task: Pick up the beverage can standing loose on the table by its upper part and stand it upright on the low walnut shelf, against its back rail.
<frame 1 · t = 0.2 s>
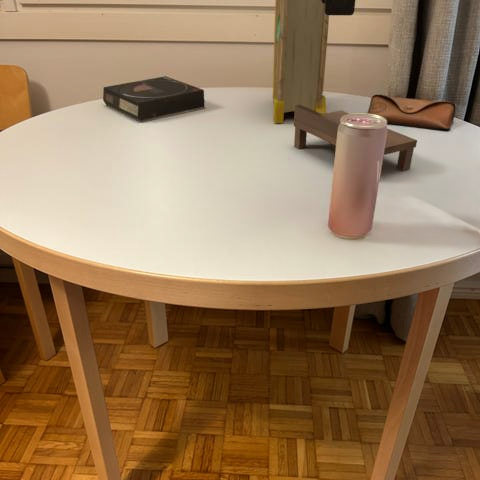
hand: (336, 8, 62), 26 cm above the table, tool pointing down, fingers open, 9 cm apart
decorative book: (296, 112, 118), on the table
sunglasses case: (407, 122, 112), on the table
shelf: (349, 157, 95), on the table
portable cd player: (153, 108, 122), on the table
beverage can: (348, 231, 73), on the table
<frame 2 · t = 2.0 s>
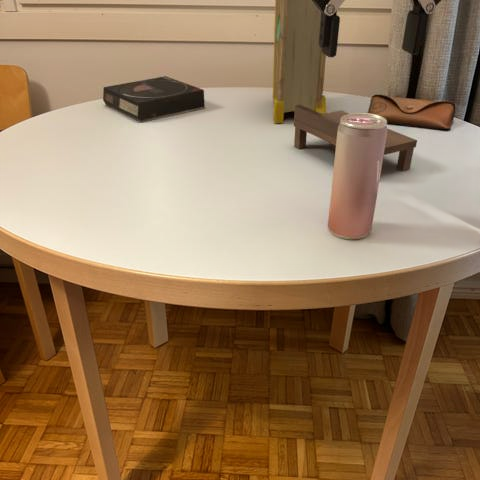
hand: (369, 53, 60), 22 cm above the table, tool pointing down, fingers open, 9 cm apart
nothing on the table moved.
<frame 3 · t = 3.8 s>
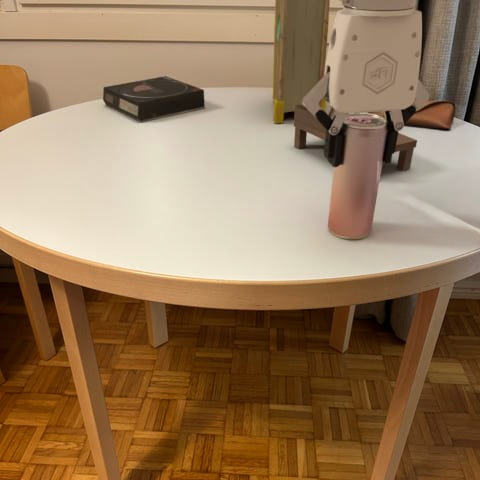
hand: (358, 160, 67), 10 cm above the table, tool pointing down, fingers closed on beverage can, 6 cm apart
beverage can: (348, 231, 73), on the table, touching gripper
everything else where it was.
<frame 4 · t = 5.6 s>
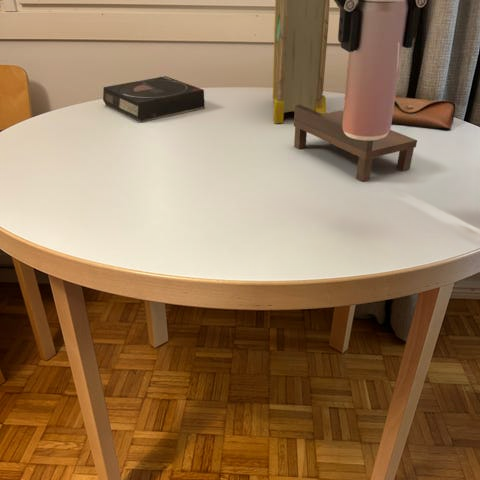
hand: (375, 46, 61), 23 cm above the table, tool pointing down, fingers closed on beverage can, 6 cm apart
beverage can: (365, 135, 67), point 13 cm above the table, touching gripper
everything else where it was.
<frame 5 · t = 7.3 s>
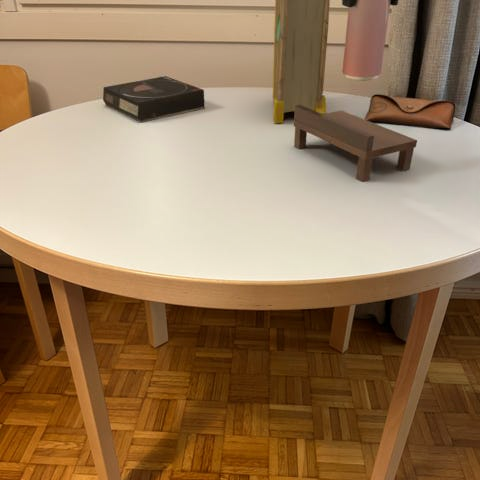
hand: (369, 3, 78), 24 cm above the table, tool pointing down, fingers closed on beverage can, 6 cm apart
beverage can: (360, 78, 84), point 14 cm above the table, touching gripper
everything else where it was.
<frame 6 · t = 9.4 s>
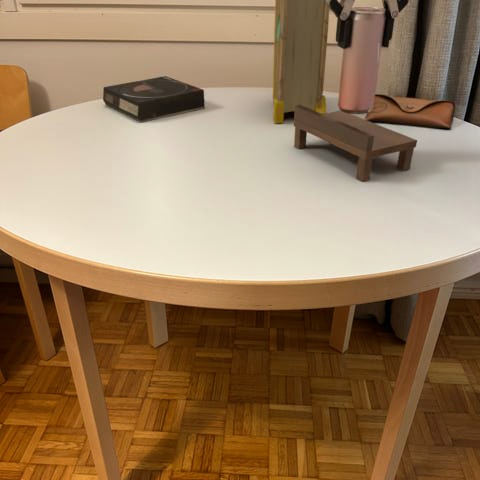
hand: (362, 45, 84), 18 cm above the table, tool pointing down, fingers closed on beverage can, 6 cm apart
beverage can: (354, 111, 90), point 8 cm above the table, touching gripper
everything else where it was.
when the fingers open (15 cm above the table, at t = 10.8 s): beverage can stays where it is, resting on shelf.
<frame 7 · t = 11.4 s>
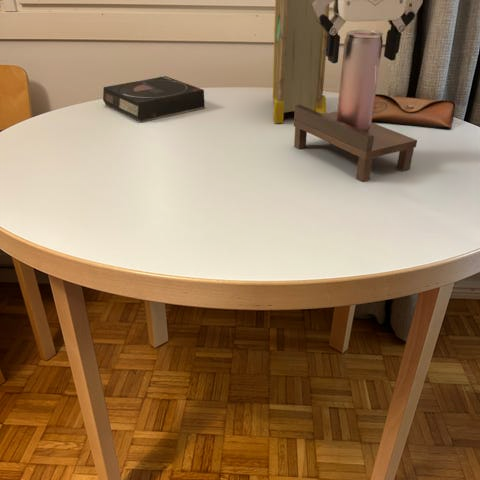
hand: (361, 60, 86), 16 cm above the table, tool pointing down, fingers open, 9 cm apart
beverage can: (352, 130, 92), point 5 cm above the table, touching shelf
everything else where it was.
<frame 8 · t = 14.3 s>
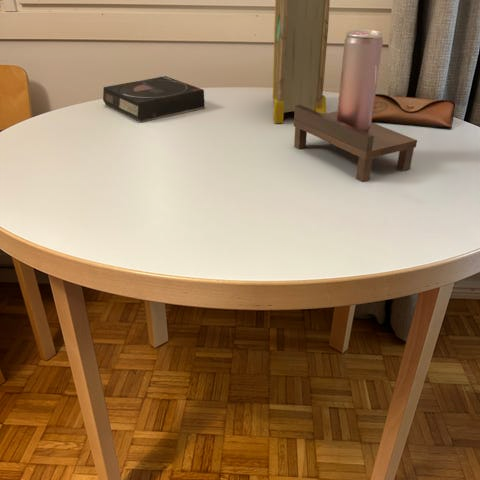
nothing on the table moved.
at the end: beverage can inside the target area on the shelf (0.1 cm from its centre), point 4.8 cm above the shelf's base; beverage can tilted 0°; the gripper is holding nothing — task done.
